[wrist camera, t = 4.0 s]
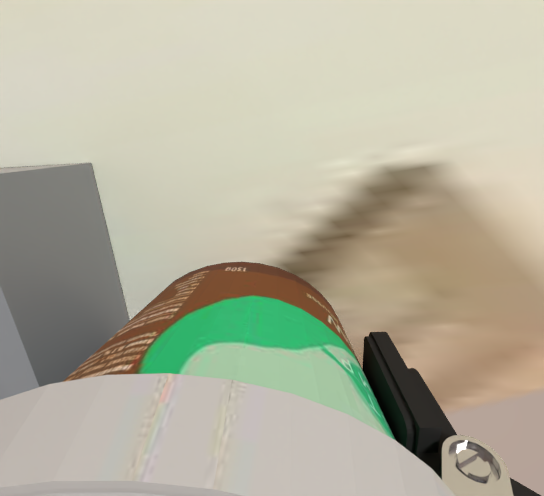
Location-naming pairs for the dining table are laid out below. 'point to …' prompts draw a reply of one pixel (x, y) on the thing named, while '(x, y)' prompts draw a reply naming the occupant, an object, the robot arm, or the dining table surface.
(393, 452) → the food container
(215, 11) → the dining table surface
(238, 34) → the dining table surface
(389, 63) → the dining table surface
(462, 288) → the dining table surface
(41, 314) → the bin
